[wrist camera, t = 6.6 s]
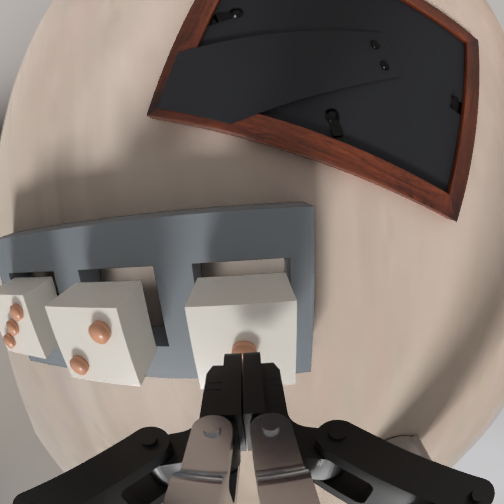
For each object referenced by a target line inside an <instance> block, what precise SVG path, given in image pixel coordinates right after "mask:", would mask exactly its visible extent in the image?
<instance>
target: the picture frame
mask: <svg viewBox="0 0 504 504" xmlns="http://www.w3.org/2000/svg"><path fill="white" fill-rule="evenodd" d="M478 100H479V45H478V40H477V39H476V38H475V37H473V36H472V35H471V34H470V33H469V32H467V31H466V30H465V29H464V28H462V27H461V26H460V25H459V24H457V23H456V22H455V21H453V20H452V19H451V18H449V17H448V16H447V15H445V14H444V13H442V12H441V11H439V10H438V9H436V8H435V7H434V6H432V5H430V4H429V3H427V2H426V1H424V0H195V1H194V3H193V5H192V7H191V9H190V11H189V13H188V15H187V17H186V19H185V21H184V23H183V25H182V27H181V29H180V31H179V33H178V35H177V38H176V40H175V42H174V44H173V47H172V49H171V51H170V54H169V56H168V58H167V61H166V63H165V66H164V68H163V71H162V73H161V76H160V79H159V81H158V84H157V87H156V90H155V92H154V95H153V98H152V101H151V104H150V107H149V110H148V113H147V116H149V117H150V118H152V119H158V120H164V121H169V122H174V123H179V124H184V125H189V126H194V127H198V128H203V129H207V130H212V131H216V132H220V133H224V134H228V135H232V136H236V137H239V138H243V139H247V140H250V141H254V142H258V143H261V144H264V145H268V146H271V147H274V148H278V149H281V150H284V151H287V152H290V153H294V154H297V155H300V156H303V157H306V158H308V159H311V160H314V161H317V162H320V163H323V164H325V165H328V166H331V167H334V168H336V169H339V170H342V171H344V172H347V173H349V174H352V175H354V176H357V177H359V178H362V179H364V180H367V181H369V182H372V183H374V184H376V185H379V186H381V187H383V188H386V189H388V190H390V191H392V192H395V193H397V194H399V195H401V196H403V197H405V198H408V199H410V200H412V201H414V202H416V203H418V204H420V205H422V206H424V207H426V208H428V209H430V210H432V211H434V212H436V213H438V214H440V215H442V216H444V217H446V218H447V219H450V220H453V221H456V222H457V219H458V216H459V212H460V209H461V205H462V201H463V197H464V193H465V189H466V184H467V180H468V175H469V170H470V165H471V159H472V153H473V147H474V140H475V133H476V124H477V114H478Z"/></svg>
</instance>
